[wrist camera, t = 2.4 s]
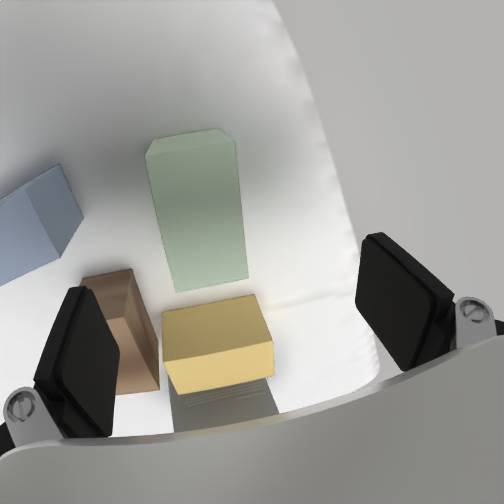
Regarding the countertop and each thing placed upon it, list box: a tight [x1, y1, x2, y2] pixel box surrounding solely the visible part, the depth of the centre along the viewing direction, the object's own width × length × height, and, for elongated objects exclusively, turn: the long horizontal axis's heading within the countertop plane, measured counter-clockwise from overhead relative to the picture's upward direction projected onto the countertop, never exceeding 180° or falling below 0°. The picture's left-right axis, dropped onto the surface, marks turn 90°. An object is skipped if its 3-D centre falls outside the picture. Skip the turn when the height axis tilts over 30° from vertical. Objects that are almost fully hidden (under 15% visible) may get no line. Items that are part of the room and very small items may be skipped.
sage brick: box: [145, 128, 249, 292], centre depth 16 cm, size 7×4×5 cm, turn 5°
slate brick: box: [0, 164, 84, 286], centre depth 14 cm, size 7×4×5 cm, turn 105°
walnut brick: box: [80, 269, 160, 395], centre depth 19 cm, size 7×4×5 cm, turn 5°
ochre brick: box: [162, 294, 274, 395], centre depth 21 cm, size 7×4×5 cm, turn 95°
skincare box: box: [168, 375, 279, 433], centre depth 20 cm, size 8×7×16 cm
